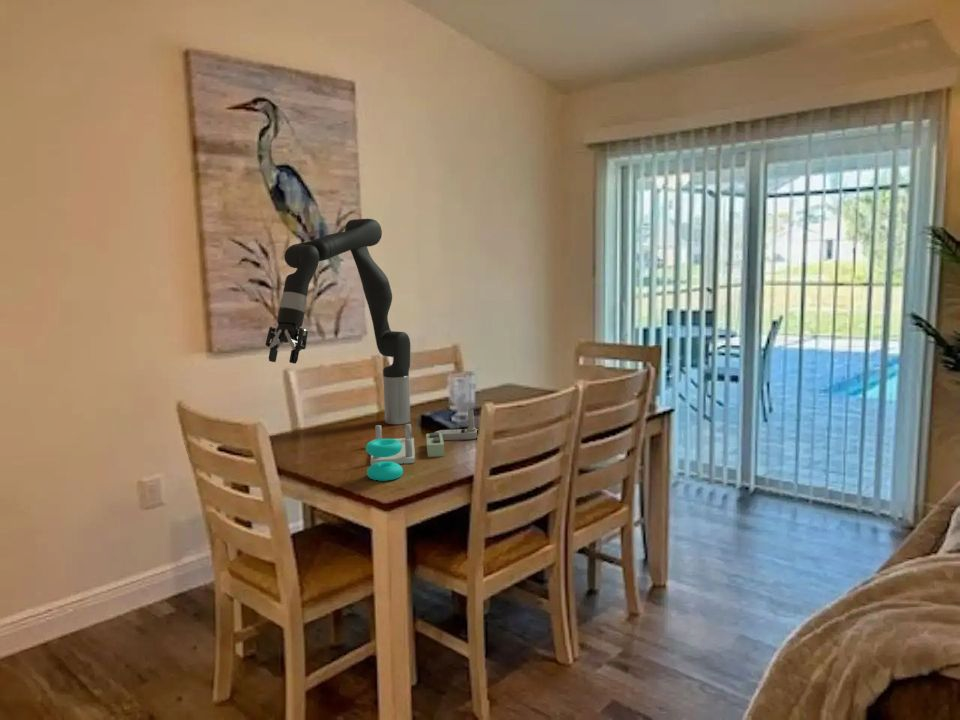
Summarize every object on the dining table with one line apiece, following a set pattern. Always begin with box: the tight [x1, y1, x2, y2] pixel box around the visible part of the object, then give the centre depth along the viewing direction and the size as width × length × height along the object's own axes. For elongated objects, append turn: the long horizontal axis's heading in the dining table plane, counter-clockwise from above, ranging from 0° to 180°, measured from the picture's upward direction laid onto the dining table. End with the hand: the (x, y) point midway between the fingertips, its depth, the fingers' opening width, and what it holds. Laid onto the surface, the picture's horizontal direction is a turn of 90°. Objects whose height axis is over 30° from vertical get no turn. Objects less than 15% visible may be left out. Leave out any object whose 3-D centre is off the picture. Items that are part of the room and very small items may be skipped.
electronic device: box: [434, 408, 478, 441], centre depth 249 cm, size 5×10×15 cm
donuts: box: [365, 438, 404, 482], centre depth 208 cm, size 10×10×10 cm
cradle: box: [370, 423, 416, 466], centre depth 232 cm, size 24×13×6 cm, turn 6°
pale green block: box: [425, 432, 445, 458], centre depth 235 cm, size 14×5×5 cm, turn 6°
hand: (282, 362), depth 222 cm, fingers open, 8 cm apart
